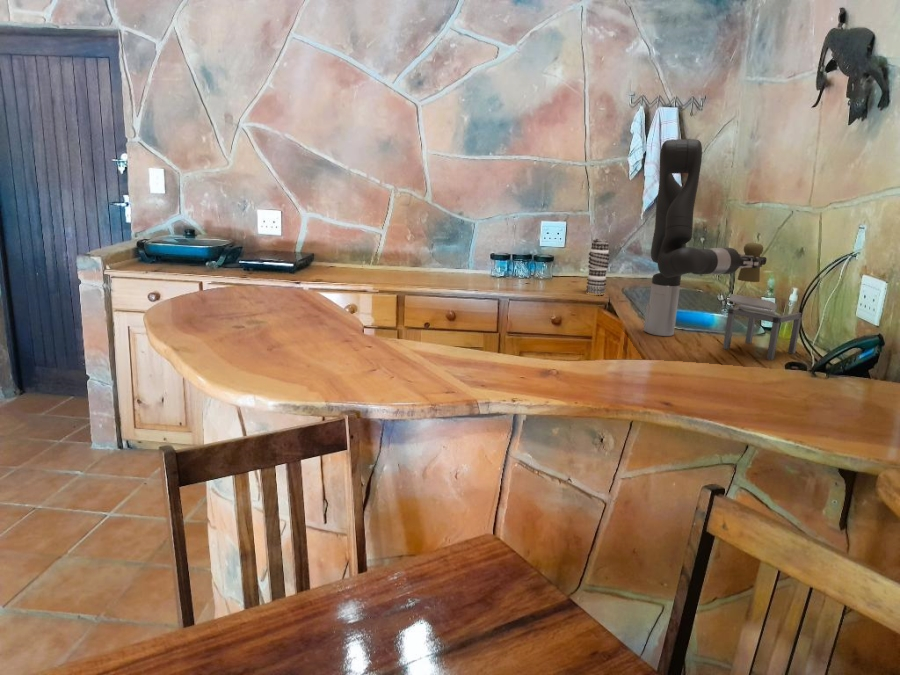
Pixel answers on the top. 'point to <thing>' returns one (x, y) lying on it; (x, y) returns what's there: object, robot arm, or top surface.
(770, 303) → the trapdoor
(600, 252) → the striped stacked cylinder
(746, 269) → the cork
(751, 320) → the grey miniature table
